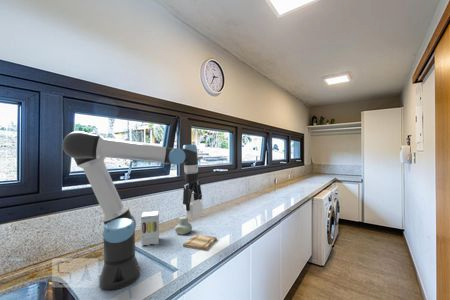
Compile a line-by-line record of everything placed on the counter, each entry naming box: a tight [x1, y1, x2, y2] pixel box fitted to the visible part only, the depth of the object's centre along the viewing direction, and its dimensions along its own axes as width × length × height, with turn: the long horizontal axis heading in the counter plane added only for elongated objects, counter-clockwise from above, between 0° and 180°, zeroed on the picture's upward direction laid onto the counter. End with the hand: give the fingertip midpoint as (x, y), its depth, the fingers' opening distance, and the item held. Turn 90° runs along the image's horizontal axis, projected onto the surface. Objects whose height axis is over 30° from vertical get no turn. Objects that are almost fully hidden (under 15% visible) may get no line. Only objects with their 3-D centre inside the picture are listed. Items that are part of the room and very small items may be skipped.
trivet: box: [182, 233, 217, 252], centre depth 116 cm, size 14×14×2 cm
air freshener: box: [174, 215, 193, 236], centre depth 132 cm, size 11×8×10 cm
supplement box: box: [140, 210, 160, 246], centre depth 119 cm, size 10×9×17 cm
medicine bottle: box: [183, 192, 204, 219], centre depth 111 cm, size 7×7×12 cm
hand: (193, 213), depth 111 cm, fingers closed on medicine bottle, 8 cm apart
